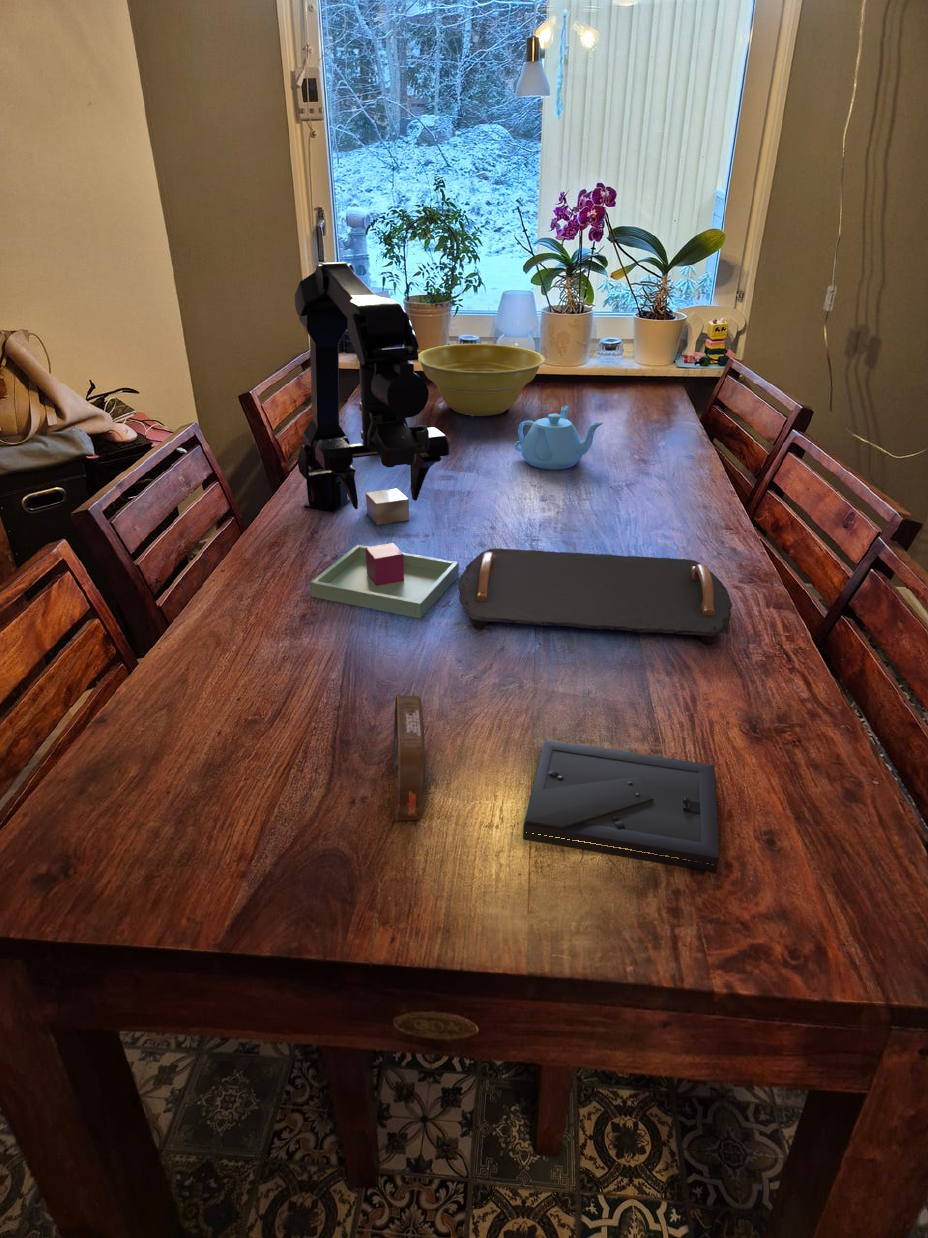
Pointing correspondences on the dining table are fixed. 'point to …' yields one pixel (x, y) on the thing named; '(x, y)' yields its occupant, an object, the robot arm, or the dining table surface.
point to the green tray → (404, 597)
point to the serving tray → (595, 592)
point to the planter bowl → (480, 375)
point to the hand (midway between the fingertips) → (385, 504)
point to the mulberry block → (385, 564)
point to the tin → (408, 758)
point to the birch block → (387, 506)
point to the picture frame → (625, 805)
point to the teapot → (553, 442)
